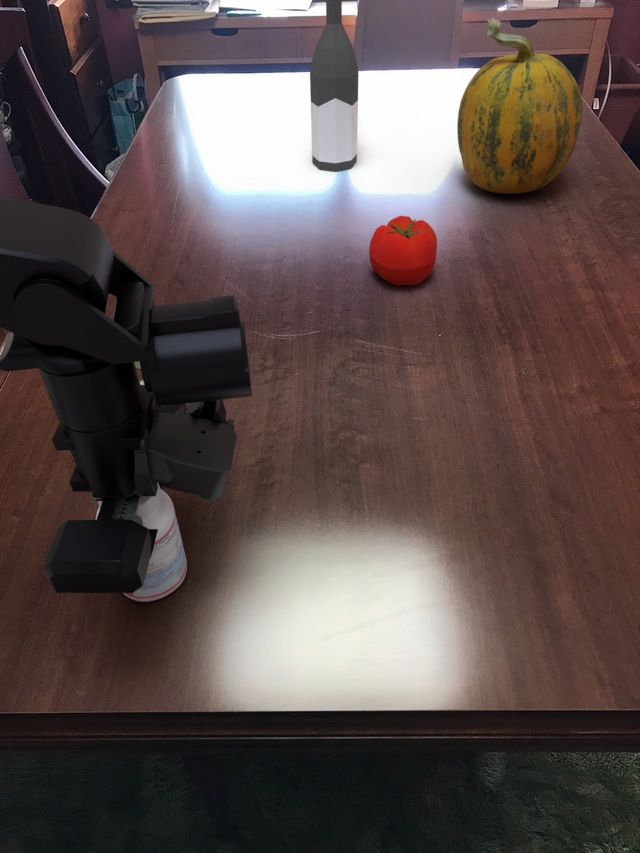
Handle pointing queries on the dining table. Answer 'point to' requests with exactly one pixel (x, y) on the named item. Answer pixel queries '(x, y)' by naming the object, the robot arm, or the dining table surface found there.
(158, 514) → the pill bottle
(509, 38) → the pumpkin
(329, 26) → the wine bottle
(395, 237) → the tomato
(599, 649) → the dining table surface
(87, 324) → the robot arm
